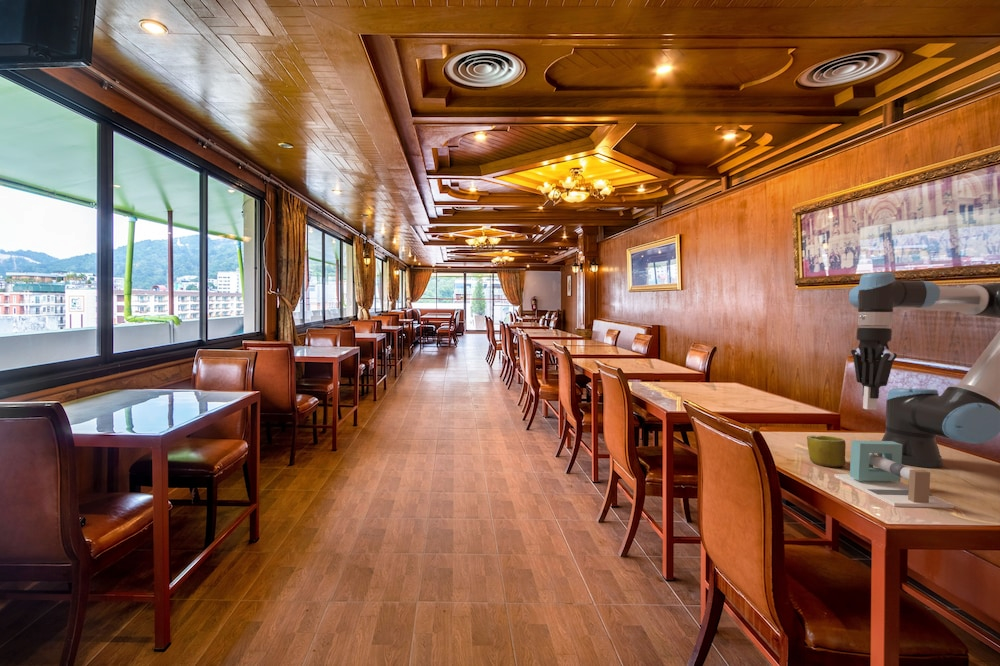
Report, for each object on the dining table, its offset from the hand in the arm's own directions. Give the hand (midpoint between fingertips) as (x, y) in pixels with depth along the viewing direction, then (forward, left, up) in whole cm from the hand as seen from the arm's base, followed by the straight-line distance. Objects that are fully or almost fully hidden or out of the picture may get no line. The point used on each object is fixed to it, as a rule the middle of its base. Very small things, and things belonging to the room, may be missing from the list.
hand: (869, 408), depth 124 cm
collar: (+4, +8, -18) cm, 20 cm away
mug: (+5, -10, -19) cm, 22 cm away
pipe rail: (+4, +12, -19) cm, 23 cm away
